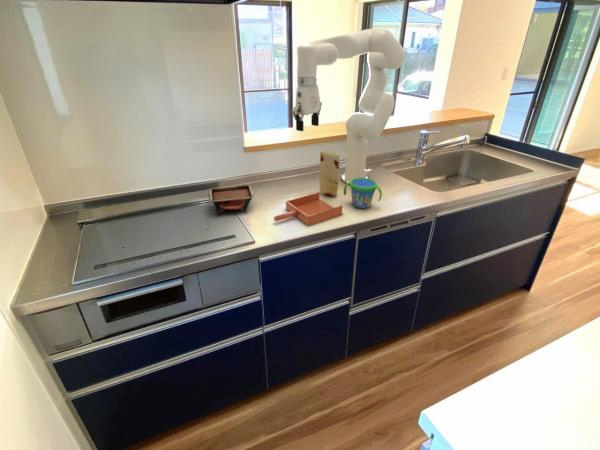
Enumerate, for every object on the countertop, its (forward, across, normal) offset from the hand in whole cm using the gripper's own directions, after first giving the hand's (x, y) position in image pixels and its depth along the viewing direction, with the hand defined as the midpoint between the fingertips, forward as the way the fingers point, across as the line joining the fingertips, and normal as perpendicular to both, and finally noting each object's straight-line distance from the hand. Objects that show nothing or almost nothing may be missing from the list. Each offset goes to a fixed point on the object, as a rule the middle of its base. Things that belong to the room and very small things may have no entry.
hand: (307, 127), depth 136 cm
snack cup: (+31, +8, -22) cm, 39 cm away
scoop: (+30, -14, -9) cm, 35 cm away
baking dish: (+30, -27, +18) cm, 45 cm away
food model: (+31, +8, -6) cm, 32 cm away
